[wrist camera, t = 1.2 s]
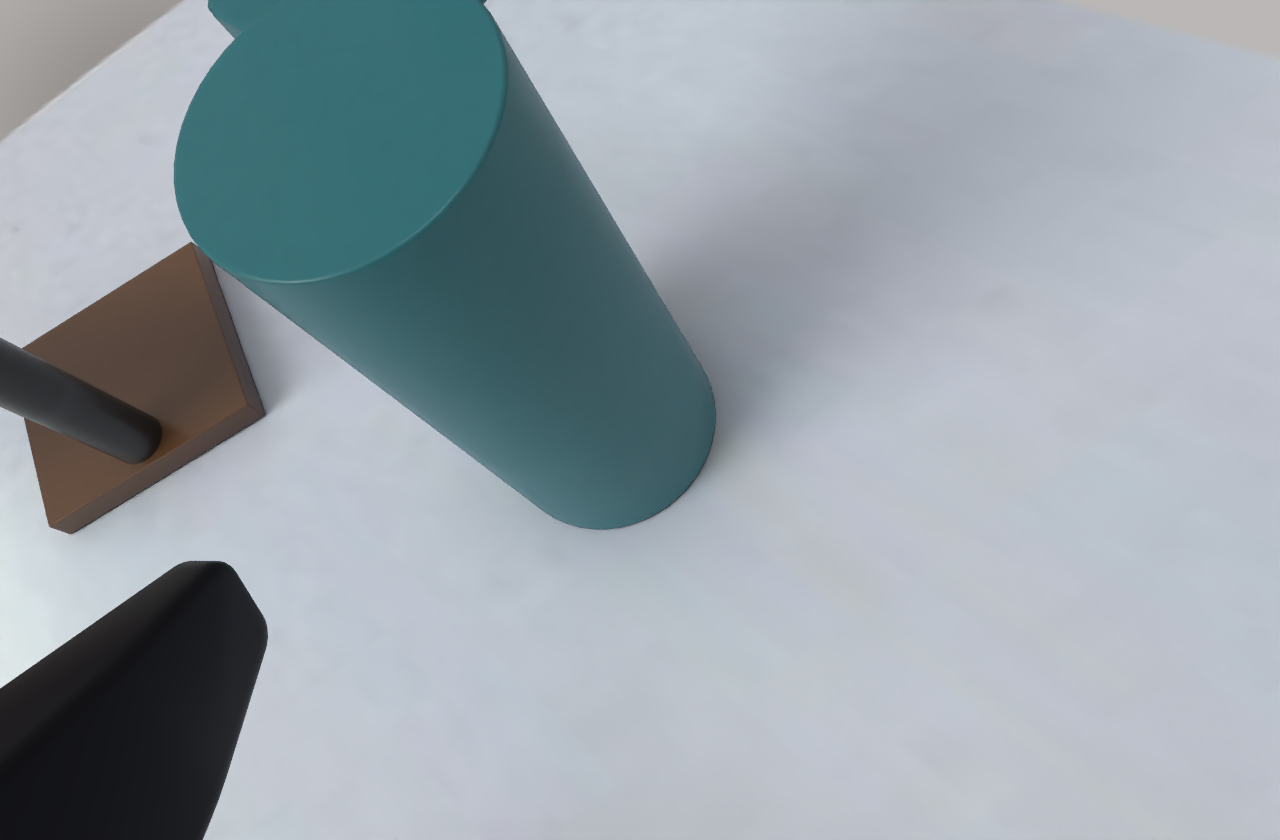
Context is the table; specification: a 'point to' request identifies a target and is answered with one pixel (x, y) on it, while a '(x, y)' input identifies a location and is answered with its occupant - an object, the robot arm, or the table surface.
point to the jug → (444, 245)
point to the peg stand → (130, 388)
